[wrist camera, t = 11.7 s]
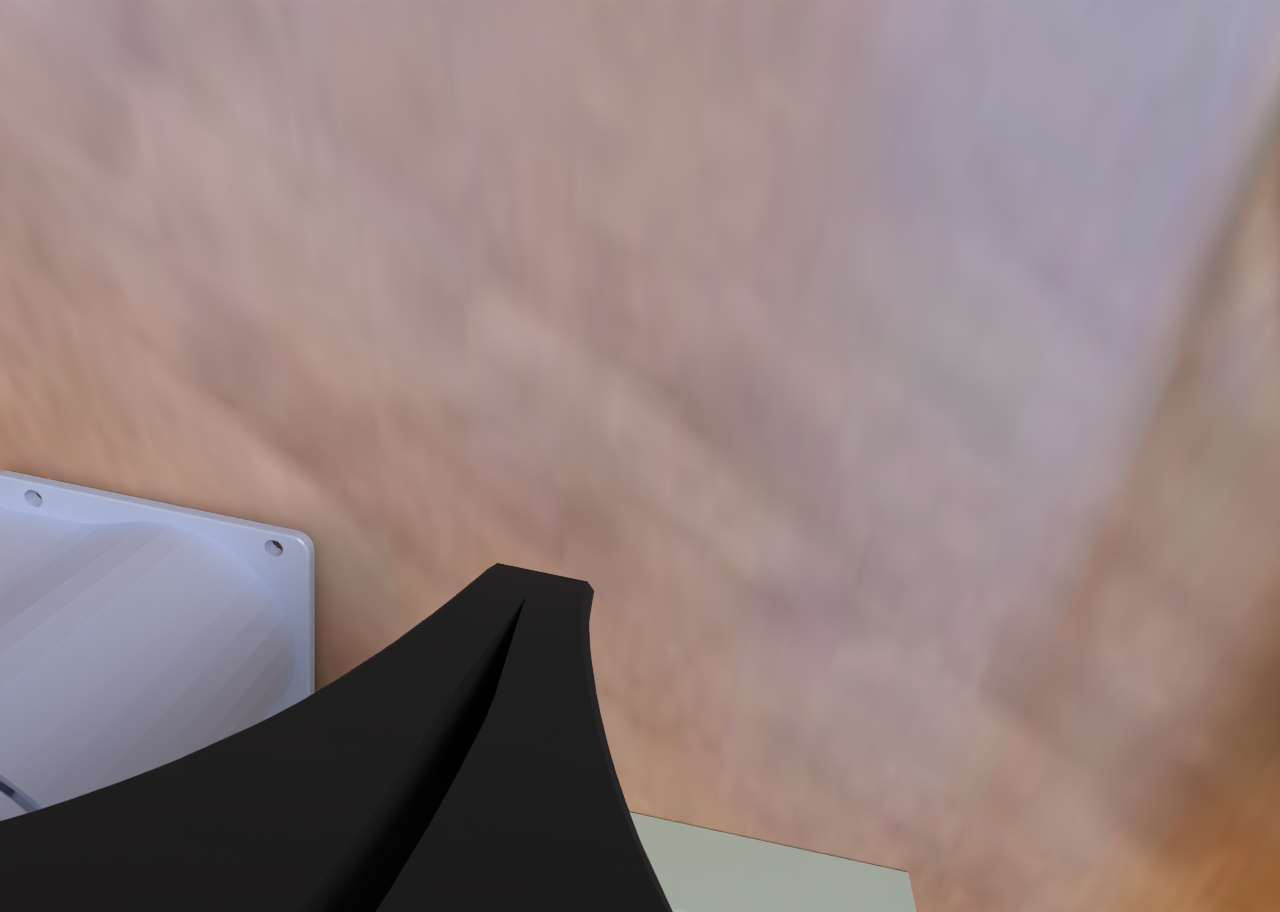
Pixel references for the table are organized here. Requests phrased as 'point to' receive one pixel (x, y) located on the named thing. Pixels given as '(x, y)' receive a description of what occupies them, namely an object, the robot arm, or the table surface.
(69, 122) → the table surface
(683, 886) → the board
